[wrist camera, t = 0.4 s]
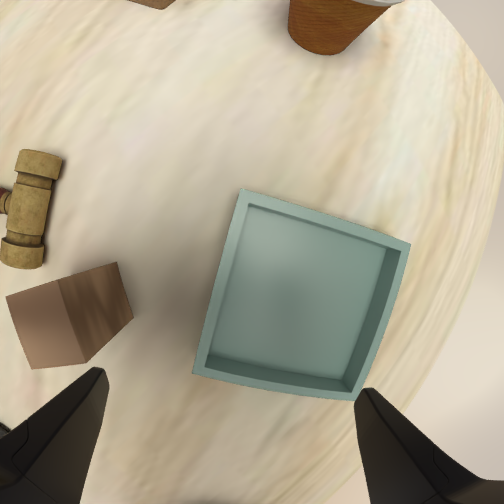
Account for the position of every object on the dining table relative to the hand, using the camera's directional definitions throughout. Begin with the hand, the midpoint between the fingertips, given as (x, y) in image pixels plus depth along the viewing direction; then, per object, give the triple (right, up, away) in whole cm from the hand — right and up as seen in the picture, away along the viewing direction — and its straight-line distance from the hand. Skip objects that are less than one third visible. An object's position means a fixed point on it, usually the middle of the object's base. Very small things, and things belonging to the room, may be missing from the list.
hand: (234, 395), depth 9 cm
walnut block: (-13, +1, +14) cm, 19 cm away
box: (+4, +1, +15) cm, 16 cm away
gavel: (-27, +11, +13) cm, 32 cm away
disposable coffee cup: (+7, +27, +14) cm, 31 cm away
